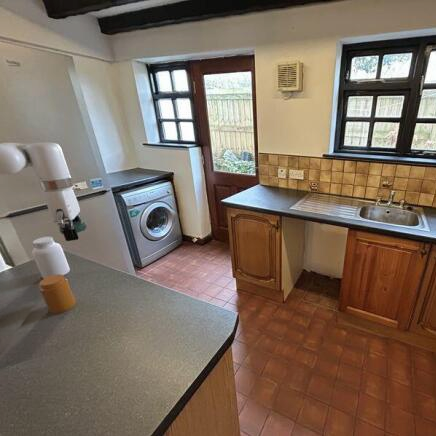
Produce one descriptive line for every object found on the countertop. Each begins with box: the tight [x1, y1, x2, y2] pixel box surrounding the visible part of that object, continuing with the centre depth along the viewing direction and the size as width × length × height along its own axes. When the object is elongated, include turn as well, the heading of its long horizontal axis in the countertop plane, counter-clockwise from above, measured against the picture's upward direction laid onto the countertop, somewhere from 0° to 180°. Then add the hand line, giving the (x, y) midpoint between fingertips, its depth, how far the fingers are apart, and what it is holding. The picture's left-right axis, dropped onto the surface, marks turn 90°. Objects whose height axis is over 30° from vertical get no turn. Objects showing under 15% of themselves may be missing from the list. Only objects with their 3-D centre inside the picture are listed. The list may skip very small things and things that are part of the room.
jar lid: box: [58, 220, 87, 235], centre depth 81 cm, size 7×7×2 cm
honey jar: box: [38, 274, 77, 315], centre depth 76 cm, size 6×6×11 cm
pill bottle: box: [31, 236, 71, 279], centre depth 91 cm, size 8×8×15 cm
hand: (75, 235), depth 82 cm, fingers closed on jar lid, 6 cm apart
